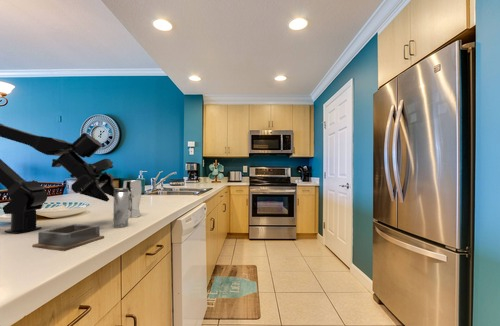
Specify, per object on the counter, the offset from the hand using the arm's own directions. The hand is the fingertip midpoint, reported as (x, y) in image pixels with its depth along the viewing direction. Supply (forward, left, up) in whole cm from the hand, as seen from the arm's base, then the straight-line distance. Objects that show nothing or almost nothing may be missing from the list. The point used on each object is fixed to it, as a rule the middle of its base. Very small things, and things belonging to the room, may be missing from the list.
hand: (113, 198), depth 80 cm
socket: (+3, -17, -10) cm, 20 cm away
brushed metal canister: (+2, +1, -10) cm, 10 cm away
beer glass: (-7, +16, -10) cm, 20 cm away
